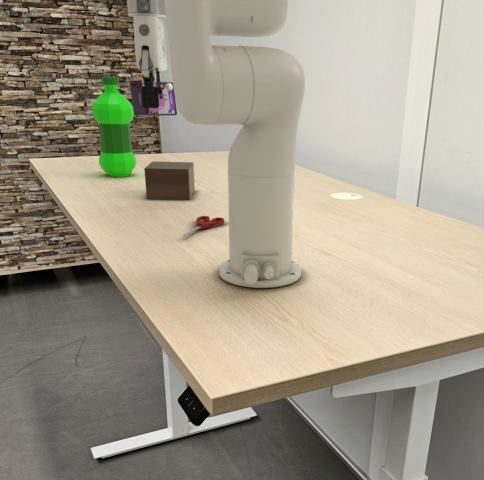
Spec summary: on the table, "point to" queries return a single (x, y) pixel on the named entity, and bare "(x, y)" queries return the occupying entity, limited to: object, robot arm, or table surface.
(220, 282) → the table surface
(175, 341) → the table surface
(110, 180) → the table surface
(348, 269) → the table surface
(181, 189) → the walnut block
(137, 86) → the purple toy box
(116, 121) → the plastic bottle
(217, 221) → the scissors
